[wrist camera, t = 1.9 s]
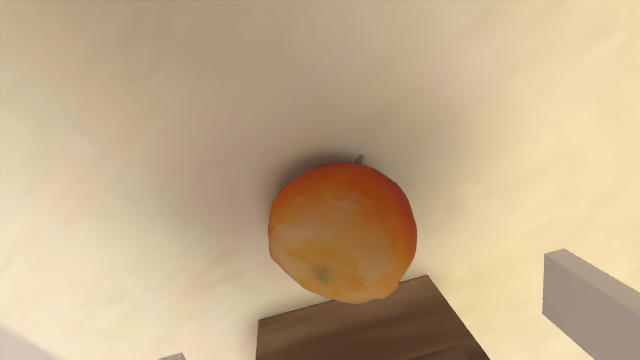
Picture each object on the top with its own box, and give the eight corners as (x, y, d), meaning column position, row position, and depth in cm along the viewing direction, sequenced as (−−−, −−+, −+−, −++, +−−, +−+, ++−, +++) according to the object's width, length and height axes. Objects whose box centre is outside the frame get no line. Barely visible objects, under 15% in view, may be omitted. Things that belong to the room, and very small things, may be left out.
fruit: (444, 210, 20) (442, 325, 14) (344, 236, 24) (309, 332, 18) (384, 105, 17) (348, 189, 11) (283, 155, 21) (218, 236, 15)
